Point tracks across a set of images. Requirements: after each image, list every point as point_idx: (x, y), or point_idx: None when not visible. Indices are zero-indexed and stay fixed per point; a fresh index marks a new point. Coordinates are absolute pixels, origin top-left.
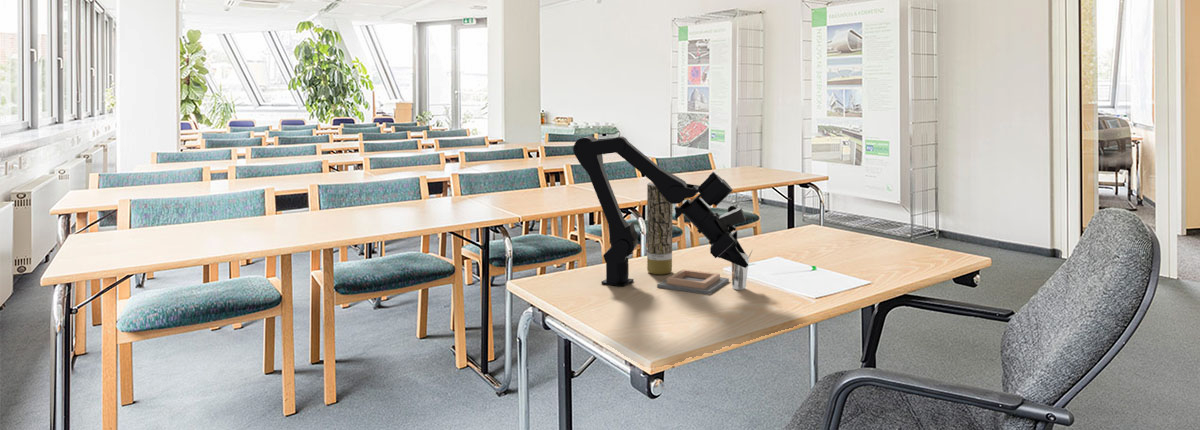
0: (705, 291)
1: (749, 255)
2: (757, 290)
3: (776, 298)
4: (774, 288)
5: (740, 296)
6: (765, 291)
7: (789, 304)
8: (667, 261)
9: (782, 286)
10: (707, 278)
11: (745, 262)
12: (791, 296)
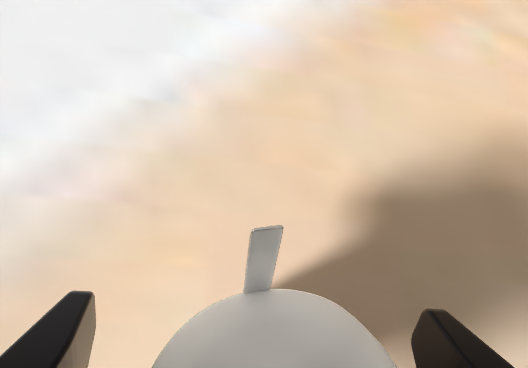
0: None
1: (249, 283)
2: None
3: (423, 133)
4: (202, 114)
5: None
6: (283, 180)
7: (516, 82)
8: None
9: (147, 58)
10: None
11: (477, 346)
12: (367, 46)
